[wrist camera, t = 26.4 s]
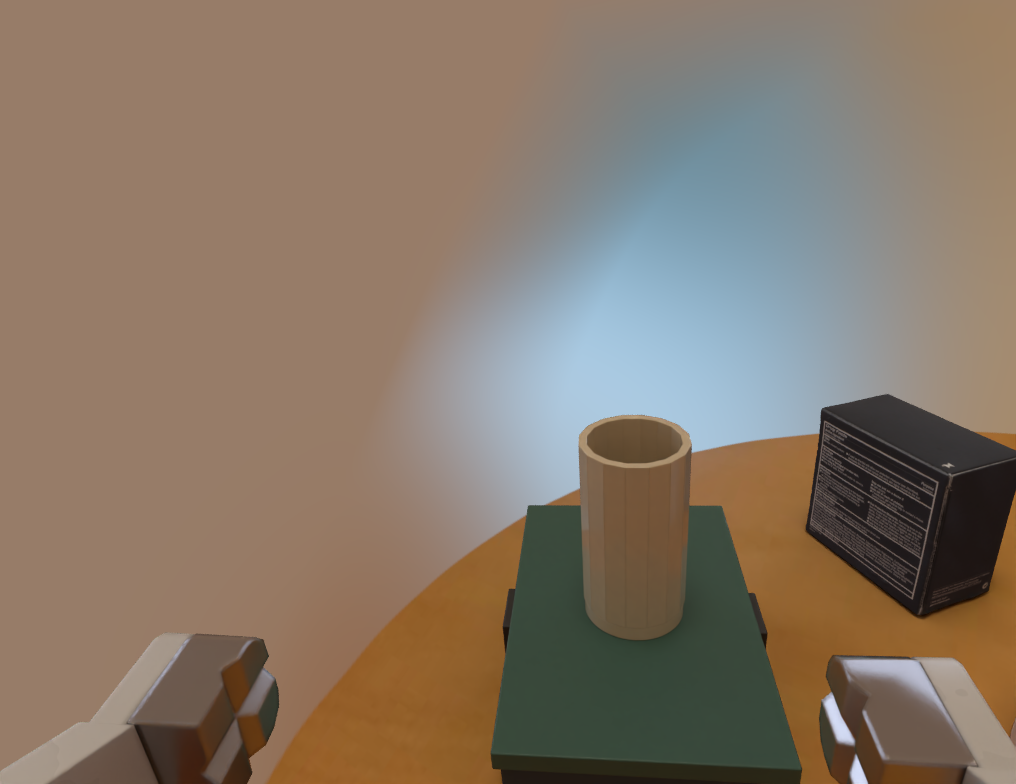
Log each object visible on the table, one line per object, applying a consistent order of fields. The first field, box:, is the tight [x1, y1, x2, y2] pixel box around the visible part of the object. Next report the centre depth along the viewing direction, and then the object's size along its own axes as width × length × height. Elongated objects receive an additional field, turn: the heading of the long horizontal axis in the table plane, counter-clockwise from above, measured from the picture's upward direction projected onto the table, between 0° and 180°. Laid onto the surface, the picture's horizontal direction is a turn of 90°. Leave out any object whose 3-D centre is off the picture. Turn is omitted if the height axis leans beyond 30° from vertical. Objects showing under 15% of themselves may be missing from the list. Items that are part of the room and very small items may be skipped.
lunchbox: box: [491, 505, 802, 784], centre depth 38 cm, size 19×14×7 cm
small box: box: [806, 394, 1016, 615], centre depth 46 cm, size 11×6×10 cm, turn 19°
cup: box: [579, 415, 692, 640], centre depth 34 cm, size 5×5×10 cm
